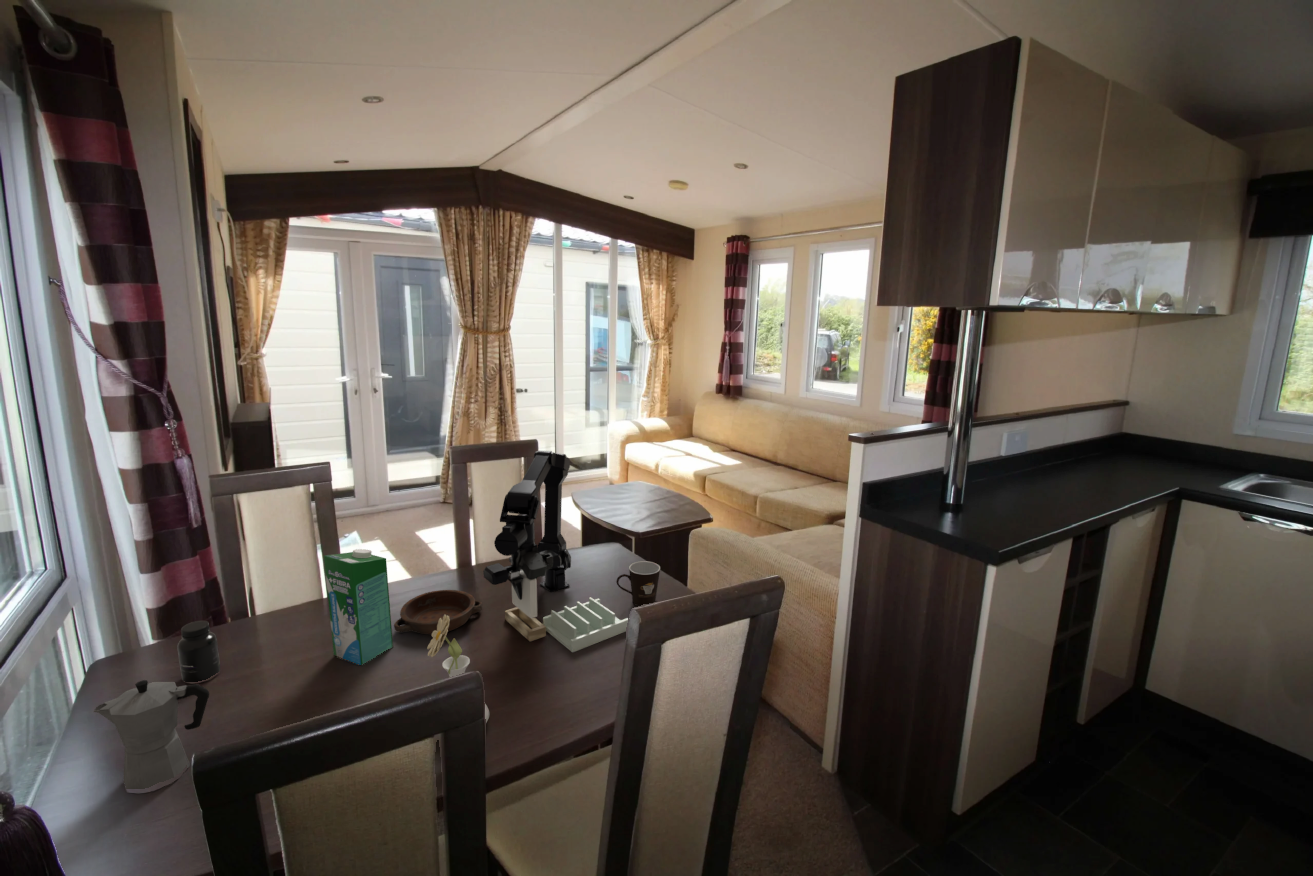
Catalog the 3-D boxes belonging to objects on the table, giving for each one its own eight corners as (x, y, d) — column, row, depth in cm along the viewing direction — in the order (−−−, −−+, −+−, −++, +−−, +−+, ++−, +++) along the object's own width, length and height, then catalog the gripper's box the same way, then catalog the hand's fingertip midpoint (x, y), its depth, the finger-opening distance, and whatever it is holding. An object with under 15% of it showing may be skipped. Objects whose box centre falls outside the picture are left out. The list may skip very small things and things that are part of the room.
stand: (505, 619, 159) (505, 610, 158) (520, 614, 161) (520, 605, 161) (529, 641, 149) (529, 632, 148) (545, 636, 151) (545, 626, 151)
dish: (385, 620, 157) (384, 602, 156) (469, 597, 170) (468, 581, 169) (404, 651, 144) (403, 632, 143) (493, 624, 157) (493, 606, 156)
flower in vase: (441, 705, 125) (434, 593, 119) (496, 708, 124) (492, 595, 119) (414, 751, 112) (406, 627, 106) (476, 754, 111) (470, 630, 106)
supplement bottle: (179, 689, 128) (170, 637, 125) (185, 671, 134) (177, 621, 131) (218, 680, 131) (211, 629, 128) (223, 663, 137) (216, 615, 134)
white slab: (512, 603, 157) (511, 566, 155) (518, 600, 158) (517, 565, 156) (530, 618, 149) (529, 581, 147) (537, 616, 151) (536, 579, 148)
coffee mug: (660, 594, 174) (661, 562, 172) (657, 609, 166) (658, 575, 164) (620, 592, 175) (620, 559, 173) (615, 606, 167) (615, 572, 165)
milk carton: (393, 647, 145) (385, 548, 140) (361, 666, 137) (351, 563, 132) (366, 637, 149) (357, 541, 143) (333, 656, 141) (323, 555, 135)
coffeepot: (97, 806, 98) (77, 708, 94) (119, 766, 107) (101, 675, 103) (212, 779, 104) (198, 685, 100) (224, 743, 113) (212, 655, 109)
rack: (543, 628, 155) (542, 610, 154) (598, 608, 166) (598, 591, 165) (572, 652, 144) (572, 633, 143) (629, 629, 155) (629, 612, 154)
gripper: (502, 559, 138) (504, 622, 141) (572, 541, 150) (572, 599, 153) (481, 544, 146) (483, 604, 150) (549, 528, 158) (550, 583, 161)
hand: (524, 597), depth 153 cm, fingers closed on white slab, 2 cm apart
